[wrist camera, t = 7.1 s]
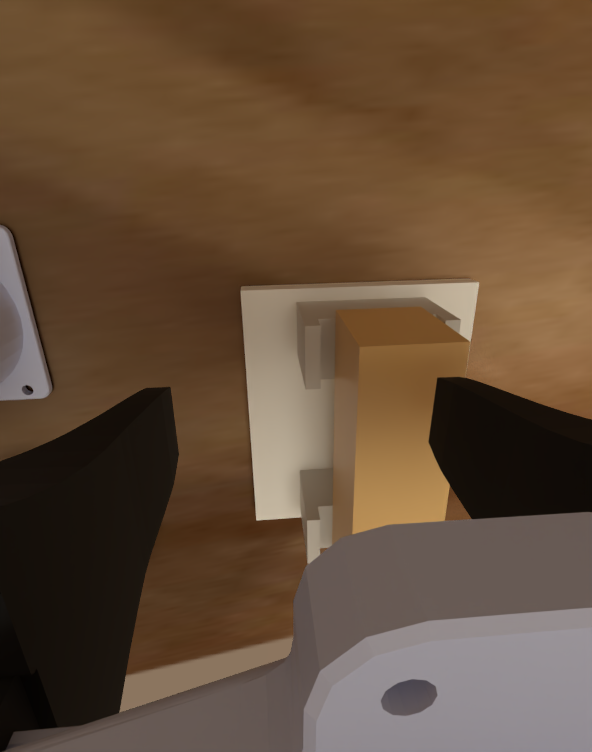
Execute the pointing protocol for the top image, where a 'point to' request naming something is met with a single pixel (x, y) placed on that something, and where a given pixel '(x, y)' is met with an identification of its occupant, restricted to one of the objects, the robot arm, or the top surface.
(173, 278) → the top surface
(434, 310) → the display stand
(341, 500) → the wooden block with panels
